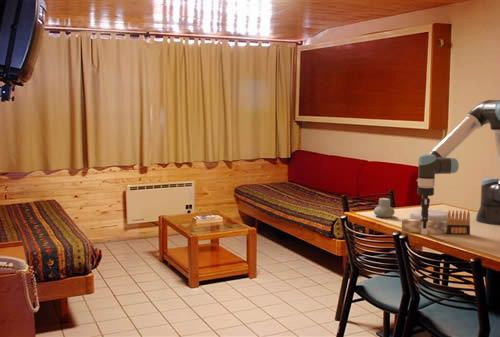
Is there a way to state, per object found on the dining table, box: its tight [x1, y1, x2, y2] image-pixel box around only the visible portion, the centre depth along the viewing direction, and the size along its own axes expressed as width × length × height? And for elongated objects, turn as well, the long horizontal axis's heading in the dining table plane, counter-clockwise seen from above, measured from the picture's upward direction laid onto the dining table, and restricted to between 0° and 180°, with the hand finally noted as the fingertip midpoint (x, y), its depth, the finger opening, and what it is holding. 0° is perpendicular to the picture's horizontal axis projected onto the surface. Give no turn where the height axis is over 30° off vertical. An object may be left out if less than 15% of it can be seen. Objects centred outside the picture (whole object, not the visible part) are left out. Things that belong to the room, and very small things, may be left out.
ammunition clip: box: [446, 210, 471, 236], centre depth 258 cm, size 11×2×12 cm, turn 86°
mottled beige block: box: [401, 218, 447, 235], centre depth 263 cm, size 20×4×6 cm, turn 74°
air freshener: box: [373, 197, 395, 219], centre depth 297 cm, size 11×8×10 cm
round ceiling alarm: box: [409, 208, 449, 227], centre depth 284 cm, size 25×25×6 cm
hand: (423, 232), depth 263 cm, fingers open, 10 cm apart
